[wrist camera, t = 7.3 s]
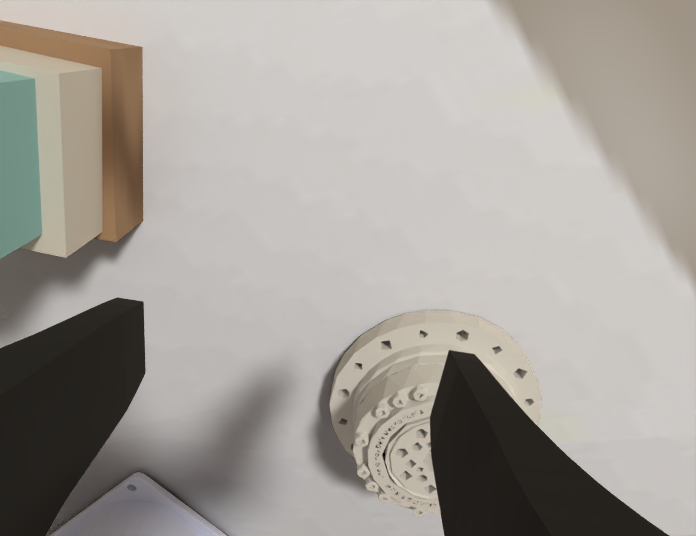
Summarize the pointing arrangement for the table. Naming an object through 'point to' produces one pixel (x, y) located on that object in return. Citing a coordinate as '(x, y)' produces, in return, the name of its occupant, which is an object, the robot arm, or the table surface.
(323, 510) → the table surface
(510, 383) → the mechanical component
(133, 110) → the slab base
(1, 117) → the cube
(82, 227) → the slab top
